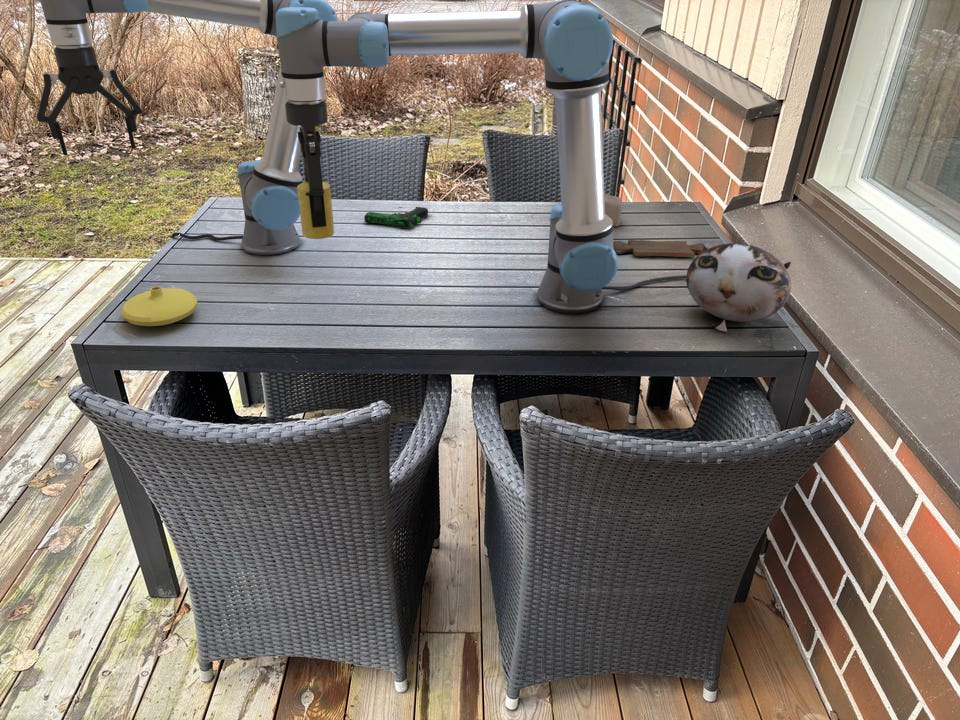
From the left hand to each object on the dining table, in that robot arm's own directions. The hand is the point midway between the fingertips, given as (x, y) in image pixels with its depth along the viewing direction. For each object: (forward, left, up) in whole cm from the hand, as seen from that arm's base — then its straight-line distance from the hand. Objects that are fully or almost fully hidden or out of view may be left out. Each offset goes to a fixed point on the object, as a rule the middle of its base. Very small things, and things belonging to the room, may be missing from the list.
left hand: (100, 150), depth 157 cm
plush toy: (+126, +66, -32) cm, 145 cm away
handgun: (+24, +73, -32) cm, 83 cm away
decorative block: (+73, +106, -32) cm, 133 cm away
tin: (+54, +10, -11) cm, 56 cm away
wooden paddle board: (+98, +95, -32) cm, 140 cm away
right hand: (+54, +11, -8) cm, 56 cm away
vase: (+21, -7, -32) cm, 39 cm away
